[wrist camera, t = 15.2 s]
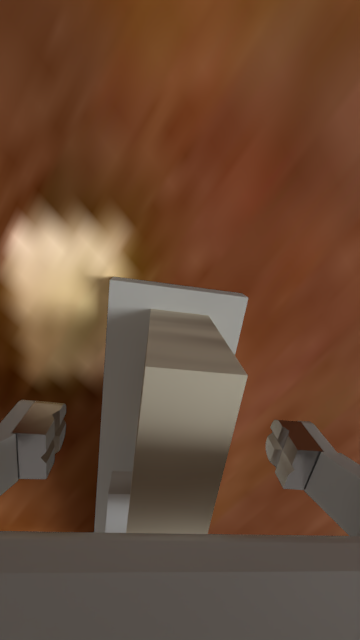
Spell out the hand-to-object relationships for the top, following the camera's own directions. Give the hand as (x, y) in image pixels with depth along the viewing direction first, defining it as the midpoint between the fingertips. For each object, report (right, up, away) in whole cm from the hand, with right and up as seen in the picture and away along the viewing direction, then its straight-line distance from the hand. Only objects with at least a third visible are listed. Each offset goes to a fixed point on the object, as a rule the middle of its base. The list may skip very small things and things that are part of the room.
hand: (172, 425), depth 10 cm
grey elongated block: (-1, -4, +6) cm, 7 cm away
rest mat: (-1, -3, +7) cm, 8 cm away
